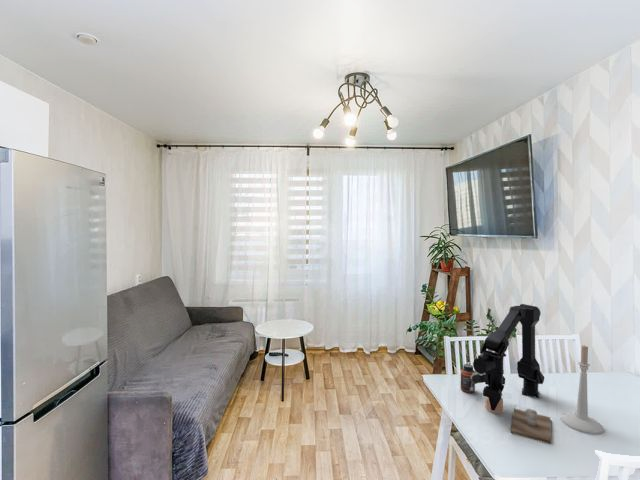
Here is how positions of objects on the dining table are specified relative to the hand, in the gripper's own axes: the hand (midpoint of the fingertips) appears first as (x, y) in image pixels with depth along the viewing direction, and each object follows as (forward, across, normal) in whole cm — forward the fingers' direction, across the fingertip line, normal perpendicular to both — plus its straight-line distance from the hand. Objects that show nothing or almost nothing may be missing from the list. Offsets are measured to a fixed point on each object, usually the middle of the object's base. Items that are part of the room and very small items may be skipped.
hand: (493, 406), depth 144 cm
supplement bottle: (+1, -12, -12) cm, 17 cm away
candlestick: (+1, -6, +29) cm, 30 cm away
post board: (+1, +6, +13) cm, 14 cm away
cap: (+1, 0, 0) cm, 1 cm away
